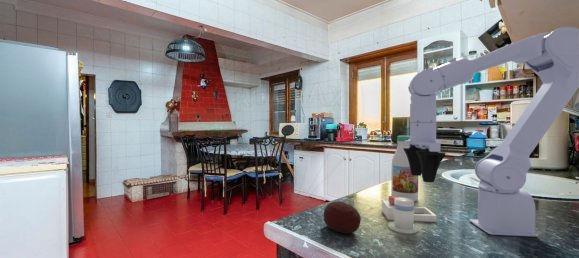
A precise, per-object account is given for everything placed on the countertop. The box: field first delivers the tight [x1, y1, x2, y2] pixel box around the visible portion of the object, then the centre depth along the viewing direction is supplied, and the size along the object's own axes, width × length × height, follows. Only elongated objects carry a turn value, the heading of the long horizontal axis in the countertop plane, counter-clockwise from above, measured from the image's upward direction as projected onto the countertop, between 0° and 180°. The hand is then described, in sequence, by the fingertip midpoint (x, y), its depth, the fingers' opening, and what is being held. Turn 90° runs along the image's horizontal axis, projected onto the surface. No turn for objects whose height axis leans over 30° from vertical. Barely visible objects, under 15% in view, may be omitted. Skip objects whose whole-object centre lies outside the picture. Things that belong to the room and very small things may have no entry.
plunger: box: [388, 195, 399, 205], centre depth 67 cm, size 3×3×4 cm
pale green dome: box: [387, 220, 420, 235], centre depth 59 cm, size 6×6×1 cm
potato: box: [323, 200, 362, 234], centre depth 58 cm, size 7×10×6 cm
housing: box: [381, 199, 437, 223], centre depth 66 cm, size 11×6×3 cm, turn 83°
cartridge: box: [393, 197, 415, 230], centre depth 59 cm, size 4×4×6 cm
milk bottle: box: [390, 135, 419, 202], centre depth 81 cm, size 8×8×20 cm
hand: (422, 178), depth 63 cm, fingers open, 7 cm apart
